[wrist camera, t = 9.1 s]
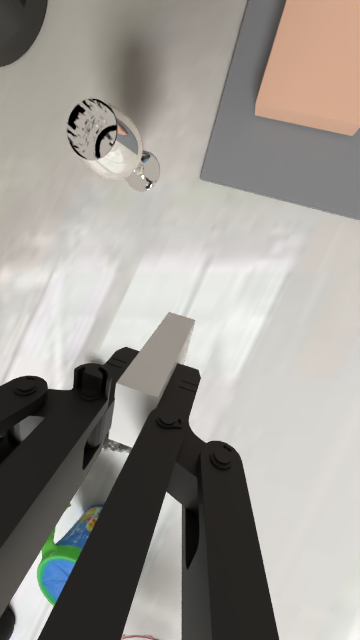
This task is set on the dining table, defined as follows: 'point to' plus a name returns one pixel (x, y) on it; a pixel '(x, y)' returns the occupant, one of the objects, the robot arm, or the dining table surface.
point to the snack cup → (64, 554)
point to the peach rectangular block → (315, 67)
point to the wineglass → (110, 144)
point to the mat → (277, 135)
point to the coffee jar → (6, 624)
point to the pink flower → (140, 636)
